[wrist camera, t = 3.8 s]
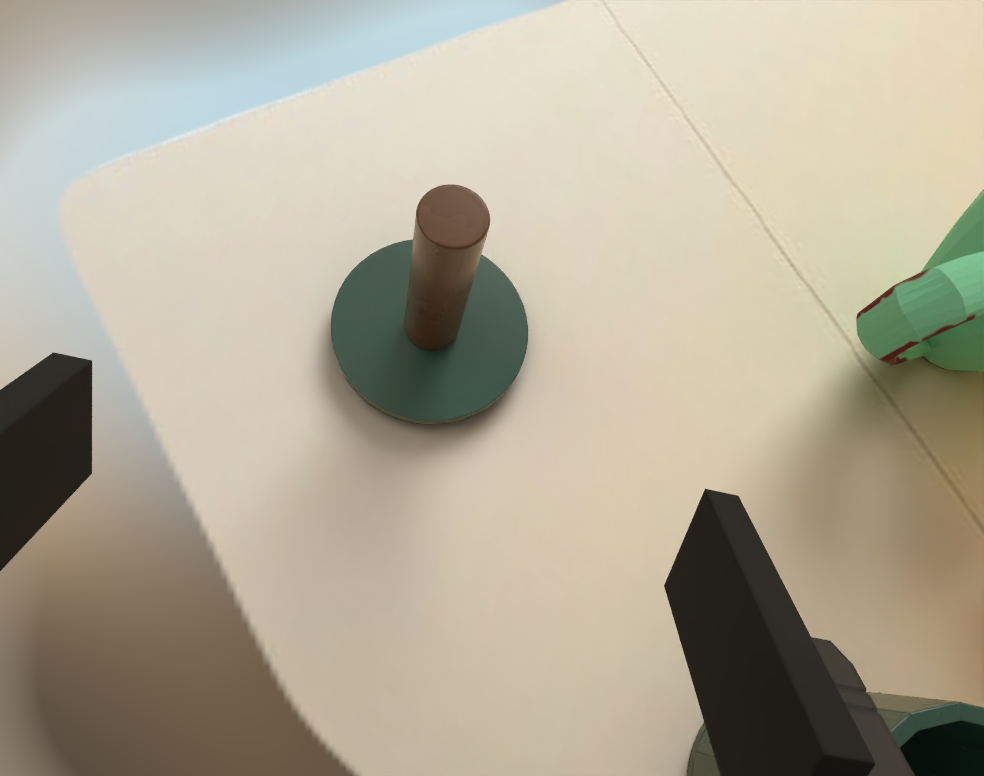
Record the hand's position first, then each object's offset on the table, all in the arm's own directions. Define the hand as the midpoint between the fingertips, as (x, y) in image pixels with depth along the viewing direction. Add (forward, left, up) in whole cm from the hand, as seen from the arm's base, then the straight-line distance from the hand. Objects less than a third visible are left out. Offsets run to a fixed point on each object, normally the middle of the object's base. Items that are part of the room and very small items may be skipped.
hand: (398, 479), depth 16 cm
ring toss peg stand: (+3, +9, -15) cm, 18 cm away
